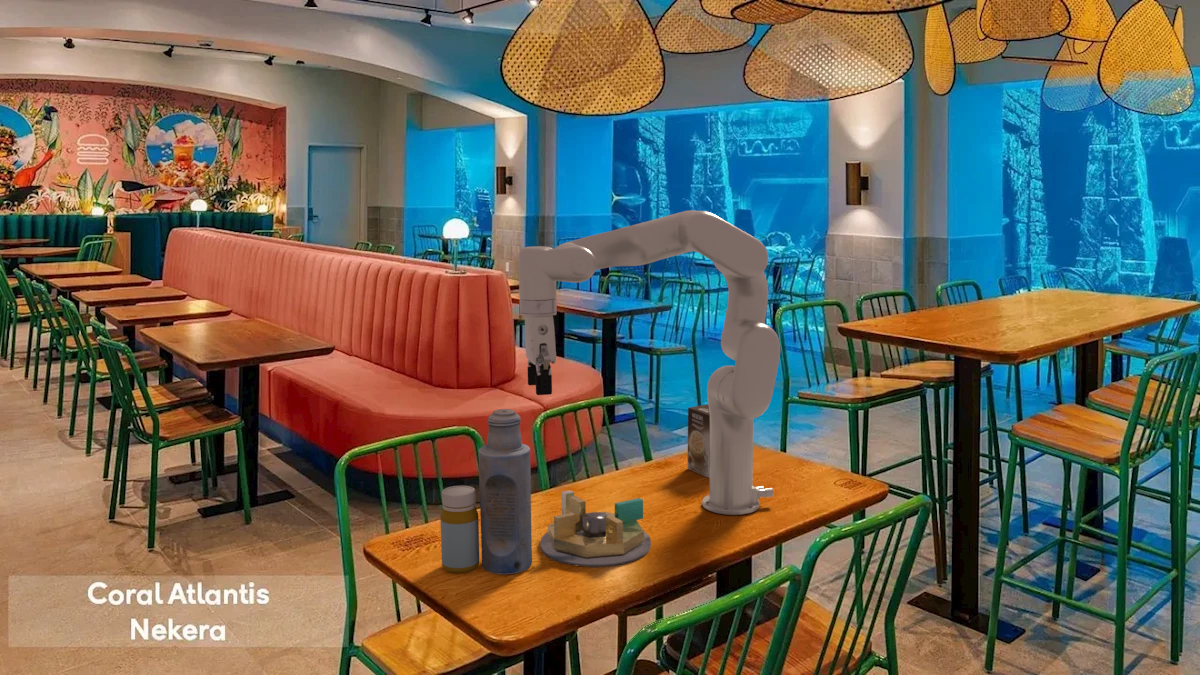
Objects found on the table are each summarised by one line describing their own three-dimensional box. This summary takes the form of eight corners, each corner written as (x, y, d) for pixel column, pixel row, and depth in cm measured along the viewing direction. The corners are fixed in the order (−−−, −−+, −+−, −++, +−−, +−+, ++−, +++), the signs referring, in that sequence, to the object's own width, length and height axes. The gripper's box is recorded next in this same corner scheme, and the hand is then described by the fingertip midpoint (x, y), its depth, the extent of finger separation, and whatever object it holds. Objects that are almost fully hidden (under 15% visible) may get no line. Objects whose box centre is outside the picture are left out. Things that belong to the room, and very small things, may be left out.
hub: (635, 521, 202) (635, 485, 201) (663, 561, 180) (663, 521, 179) (533, 529, 198) (532, 492, 196) (549, 571, 176) (548, 530, 174)
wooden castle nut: (636, 519, 199) (636, 490, 198) (658, 550, 182) (658, 520, 181) (544, 526, 195) (543, 497, 194) (558, 559, 178) (557, 528, 177)
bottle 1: (487, 565, 179) (485, 489, 176) (459, 577, 174) (457, 499, 171) (462, 556, 183) (460, 482, 181) (434, 568, 178) (431, 491, 175)
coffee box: (686, 468, 239) (686, 407, 236) (706, 465, 242) (707, 403, 240) (707, 478, 231) (708, 414, 229) (728, 474, 234) (729, 411, 232)
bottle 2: (475, 574, 175) (470, 416, 170) (489, 554, 185) (485, 404, 180) (525, 577, 174) (522, 418, 169) (537, 556, 183) (534, 405, 178)
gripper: (564, 312, 185) (566, 397, 188) (548, 301, 202) (549, 380, 204) (526, 313, 183) (528, 399, 186) (513, 303, 200) (515, 382, 203)
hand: (539, 389), depth 195 cm, fingers open, 9 cm apart
